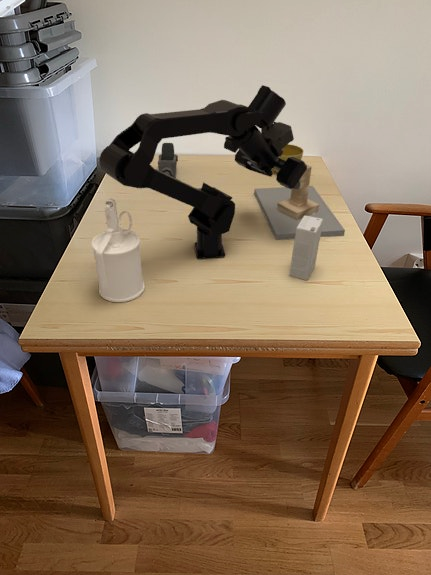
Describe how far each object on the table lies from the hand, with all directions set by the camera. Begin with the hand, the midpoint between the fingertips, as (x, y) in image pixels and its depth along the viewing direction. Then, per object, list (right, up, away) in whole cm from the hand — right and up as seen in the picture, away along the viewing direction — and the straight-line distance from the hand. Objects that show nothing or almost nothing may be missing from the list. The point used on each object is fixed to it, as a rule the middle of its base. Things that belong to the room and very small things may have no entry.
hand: (284, 181), depth 114 cm
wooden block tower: (+5, -6, +9) cm, 11 cm away
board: (+4, -6, +11) cm, 13 cm away
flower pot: (+5, +10, +33) cm, 35 cm away
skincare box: (+2, -22, -11) cm, 25 cm away
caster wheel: (-31, +8, +30) cm, 44 cm away
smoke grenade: (-36, -27, -17) cm, 48 cm away
